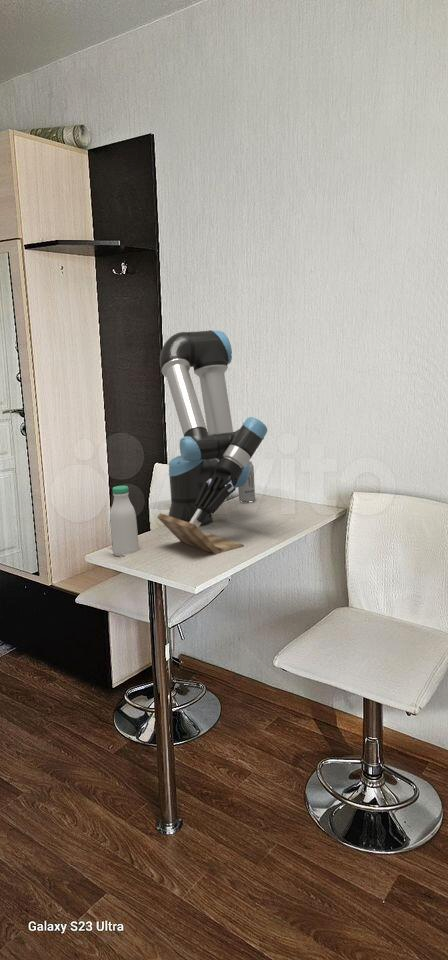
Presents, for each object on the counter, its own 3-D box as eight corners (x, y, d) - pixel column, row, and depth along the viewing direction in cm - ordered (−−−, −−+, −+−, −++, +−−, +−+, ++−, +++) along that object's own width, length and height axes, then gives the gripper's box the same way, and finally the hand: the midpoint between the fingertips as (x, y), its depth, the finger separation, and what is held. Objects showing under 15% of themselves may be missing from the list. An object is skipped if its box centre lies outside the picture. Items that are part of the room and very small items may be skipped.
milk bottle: (144, 552, 206) (139, 485, 202) (123, 558, 201) (117, 491, 197) (128, 547, 211) (123, 483, 207) (107, 554, 206) (101, 487, 202)
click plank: (182, 543, 212) (157, 517, 205) (185, 540, 212) (160, 513, 205) (217, 556, 197) (191, 528, 191) (221, 552, 198) (194, 524, 191)
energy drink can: (247, 504, 257) (245, 464, 254) (235, 502, 261) (233, 462, 258) (258, 500, 261) (256, 461, 258) (246, 499, 265) (244, 460, 262)
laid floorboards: (186, 543, 213) (186, 537, 212) (208, 537, 217) (207, 531, 217) (221, 555, 198) (221, 549, 198) (244, 549, 203) (243, 543, 202)
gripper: (253, 473, 204) (212, 541, 198) (226, 468, 215) (186, 533, 208) (238, 458, 200) (195, 527, 194) (211, 454, 210) (169, 519, 204)
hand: (190, 530), depth 201 cm, fingers closed
